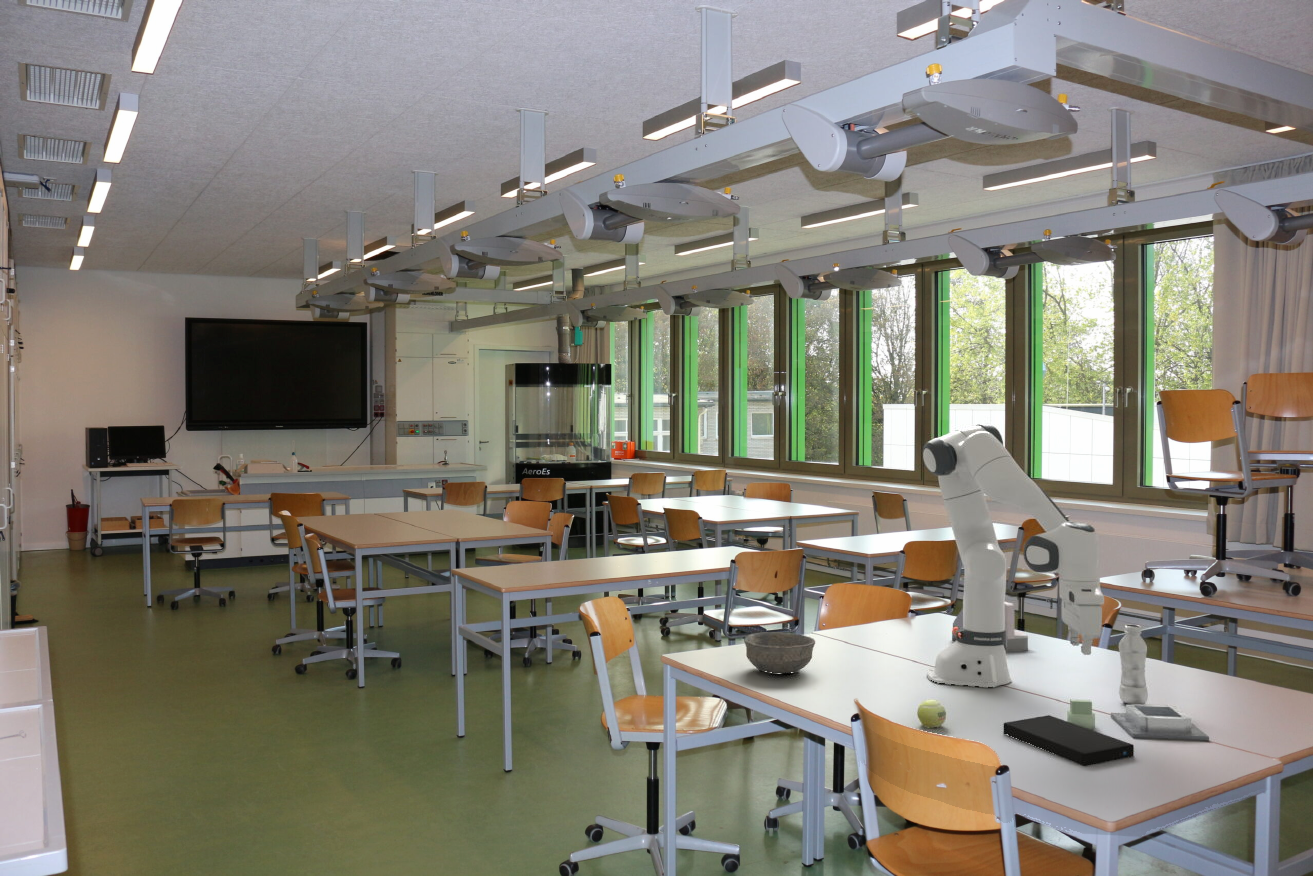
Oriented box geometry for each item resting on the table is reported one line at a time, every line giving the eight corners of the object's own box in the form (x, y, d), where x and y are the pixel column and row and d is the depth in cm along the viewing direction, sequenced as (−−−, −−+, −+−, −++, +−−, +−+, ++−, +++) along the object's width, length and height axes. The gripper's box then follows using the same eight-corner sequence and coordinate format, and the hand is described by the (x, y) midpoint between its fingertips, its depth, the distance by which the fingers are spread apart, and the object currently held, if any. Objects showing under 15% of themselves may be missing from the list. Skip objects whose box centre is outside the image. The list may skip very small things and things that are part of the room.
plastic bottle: (1137, 709, 237) (1136, 629, 237) (1113, 702, 243) (1112, 624, 243) (1153, 705, 240) (1153, 627, 240) (1129, 699, 246) (1129, 622, 246)
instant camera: (1032, 653, 298) (1032, 605, 298) (966, 653, 298) (966, 606, 298) (1007, 638, 319) (1007, 594, 319) (946, 638, 319) (946, 594, 319)
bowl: (830, 674, 273) (830, 639, 273) (779, 686, 261) (779, 650, 261) (780, 660, 290) (779, 628, 290) (729, 671, 277) (729, 637, 277)
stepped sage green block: (1071, 729, 222) (1071, 703, 222) (1064, 721, 228) (1064, 696, 228) (1098, 730, 221) (1098, 704, 221) (1090, 722, 227) (1090, 697, 227)
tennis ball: (936, 703, 221) (948, 696, 226) (910, 702, 225) (922, 696, 230) (940, 731, 220) (952, 724, 225) (913, 729, 224) (926, 722, 230)
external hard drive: (1050, 727, 224) (1049, 715, 224) (1134, 758, 203) (1133, 744, 203) (1003, 735, 219) (1003, 722, 219) (1084, 768, 197) (1084, 754, 197)
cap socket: (1133, 737, 215) (1132, 720, 215) (1110, 716, 231) (1110, 700, 231) (1209, 741, 213) (1208, 723, 213) (1181, 719, 228) (1181, 703, 228)
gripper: (1054, 584, 235) (1055, 639, 235) (1077, 598, 215) (1078, 659, 215) (1081, 584, 234) (1082, 640, 234) (1106, 598, 214) (1107, 660, 214)
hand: (1080, 649), depth 224 cm, fingers open, 8 cm apart
